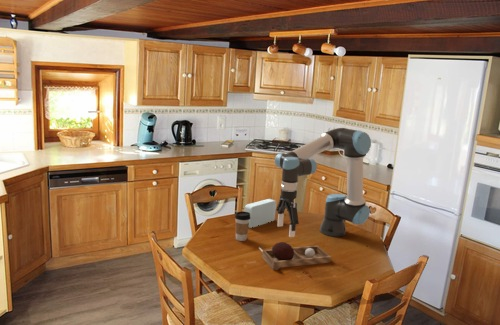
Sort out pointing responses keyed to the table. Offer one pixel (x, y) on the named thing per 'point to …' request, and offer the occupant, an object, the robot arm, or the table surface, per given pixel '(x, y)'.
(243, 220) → the coffee cup
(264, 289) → the table surface
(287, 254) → the dark brown ovoid
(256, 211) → the white rounded block
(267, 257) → the divided wooden tray
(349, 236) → the table surface
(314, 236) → the table surface
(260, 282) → the table surface
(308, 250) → the ball
